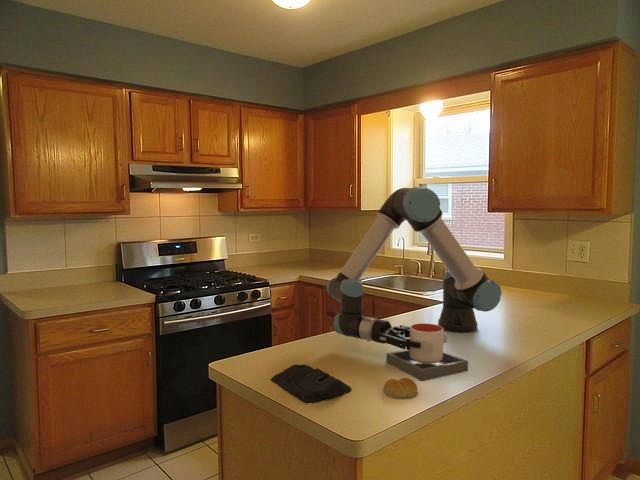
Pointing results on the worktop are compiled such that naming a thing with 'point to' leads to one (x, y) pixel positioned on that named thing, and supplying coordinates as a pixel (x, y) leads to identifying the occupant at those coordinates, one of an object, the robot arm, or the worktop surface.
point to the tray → (427, 365)
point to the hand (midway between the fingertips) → (439, 342)
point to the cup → (431, 335)
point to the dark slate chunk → (310, 384)
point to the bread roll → (400, 388)
